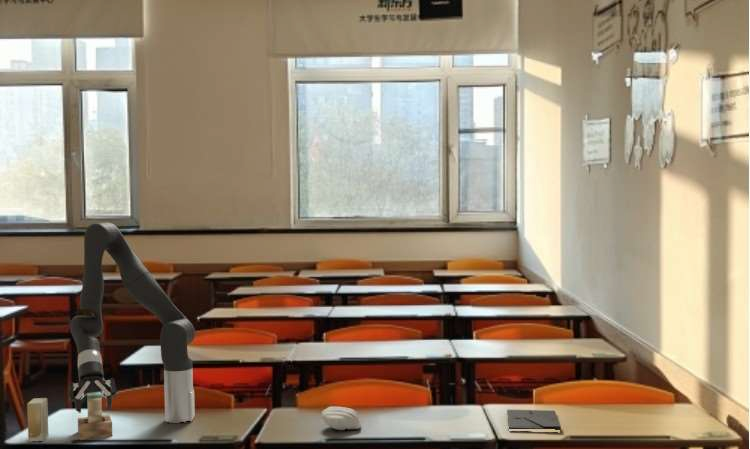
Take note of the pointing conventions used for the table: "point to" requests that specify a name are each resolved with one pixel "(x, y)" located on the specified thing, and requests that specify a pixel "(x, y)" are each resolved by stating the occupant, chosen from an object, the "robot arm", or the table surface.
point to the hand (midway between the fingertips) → (94, 409)
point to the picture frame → (532, 419)
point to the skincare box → (37, 419)
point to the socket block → (94, 428)
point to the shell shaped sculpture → (341, 418)
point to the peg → (94, 407)
